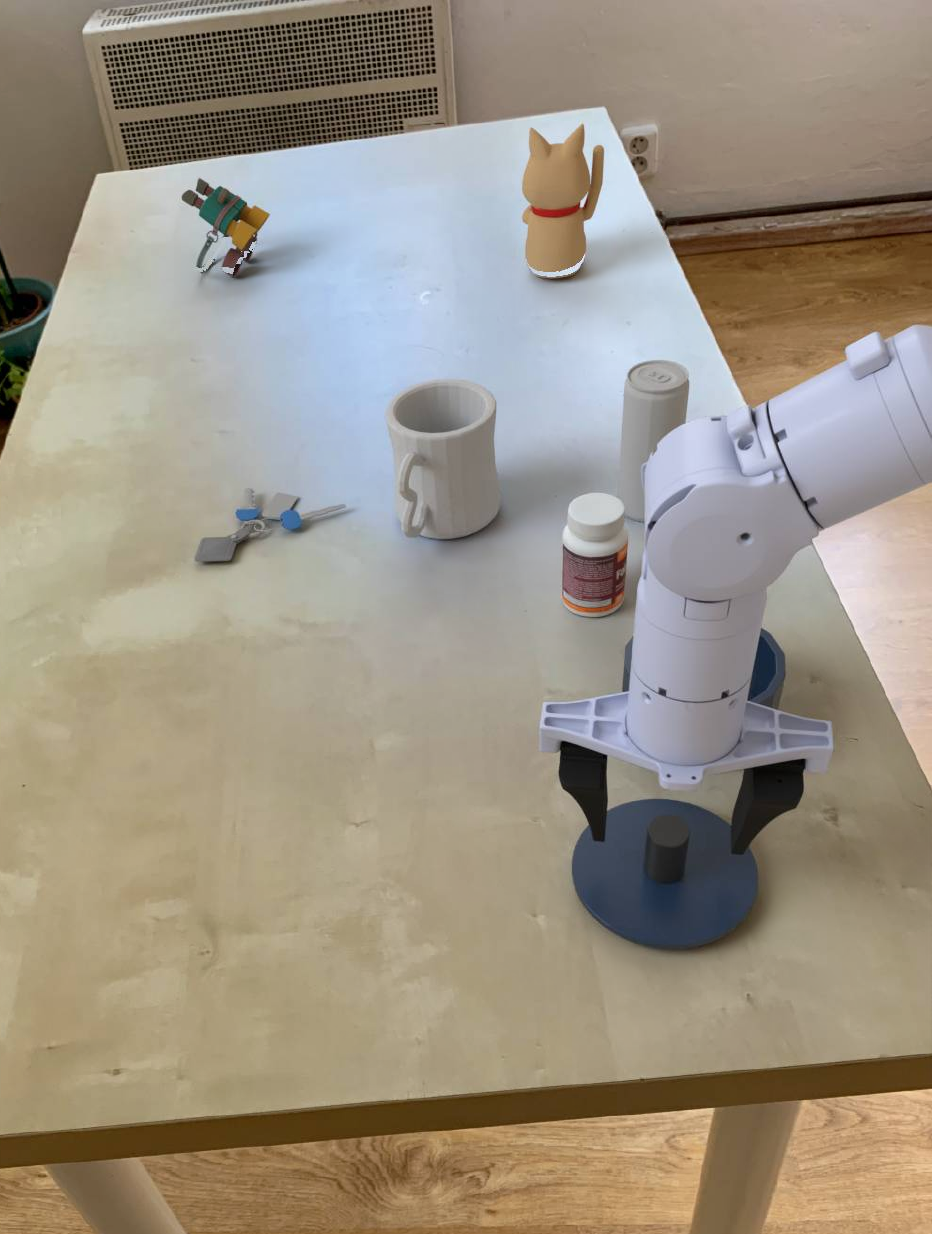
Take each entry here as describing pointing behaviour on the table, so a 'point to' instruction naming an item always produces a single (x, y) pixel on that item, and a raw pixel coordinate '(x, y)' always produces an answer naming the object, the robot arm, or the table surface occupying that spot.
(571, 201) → the figurine
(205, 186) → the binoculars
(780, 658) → the pot
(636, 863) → the lid
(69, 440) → the table surface
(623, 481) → the beverage can
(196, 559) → the key chain
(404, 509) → the mug
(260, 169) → the table surface
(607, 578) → the pill bottle
